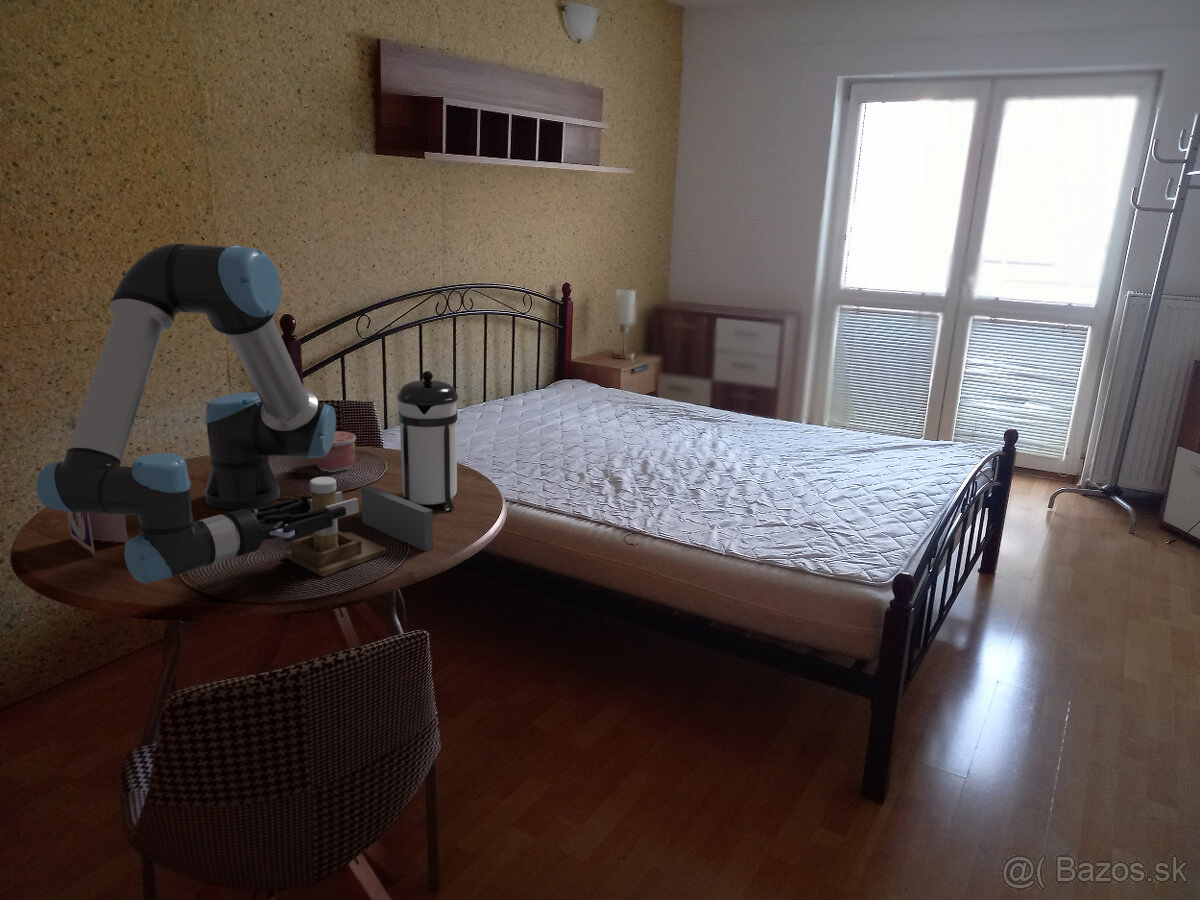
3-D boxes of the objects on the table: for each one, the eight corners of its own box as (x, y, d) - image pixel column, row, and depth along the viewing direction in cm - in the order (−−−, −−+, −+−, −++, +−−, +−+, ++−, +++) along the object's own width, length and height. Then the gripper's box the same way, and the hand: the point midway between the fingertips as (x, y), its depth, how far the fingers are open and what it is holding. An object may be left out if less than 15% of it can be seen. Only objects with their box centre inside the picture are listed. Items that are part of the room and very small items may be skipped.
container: (333, 477, 198) (331, 445, 196) (303, 468, 204) (301, 437, 201) (366, 466, 207) (364, 436, 205) (337, 458, 212) (335, 428, 210)
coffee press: (480, 503, 186) (480, 372, 177) (420, 520, 175) (417, 381, 166) (436, 483, 197) (434, 359, 189) (377, 497, 186) (371, 367, 178)
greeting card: (66, 540, 158) (54, 465, 153) (108, 529, 163) (97, 457, 159) (89, 557, 151) (78, 480, 147) (132, 546, 157) (122, 471, 152)
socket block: (322, 576, 147) (321, 558, 146) (285, 557, 154) (283, 539, 153) (386, 553, 158) (386, 536, 157) (349, 536, 165) (348, 519, 164)
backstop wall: (425, 551, 160) (424, 512, 158) (362, 523, 172) (360, 487, 169) (433, 548, 161) (432, 510, 159) (370, 521, 173) (369, 485, 171)
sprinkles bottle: (308, 547, 153) (304, 479, 150) (330, 541, 157) (327, 474, 153) (322, 555, 151) (318, 485, 147) (344, 548, 154) (341, 480, 150)
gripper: (205, 542, 144) (323, 508, 162) (258, 571, 134) (378, 532, 151) (201, 501, 142) (321, 472, 160) (255, 528, 132) (377, 494, 149)
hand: (349, 501), depth 156 cm, fingers closed on sprinkles bottle, 4 cm apart
